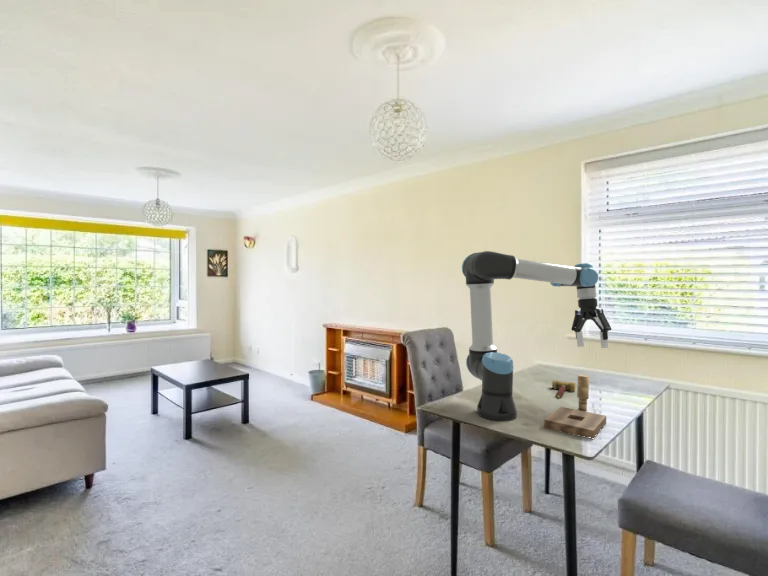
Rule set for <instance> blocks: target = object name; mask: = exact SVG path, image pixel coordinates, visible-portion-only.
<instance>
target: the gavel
mask: <svg viewBox="0 0 768 576" xmlns="http://www.w3.org/2000/svg"><path fill="white" fill-rule="evenodd" d="M551 388H554V389H553V390H557V392H556V397H557V399H561V397H562V398H563V396H564V394H565V391H567V390H568V392H571V391H573V392H574V393H575V392H576V382H572V381H570V382H568V381H559V380H557V379H556V380H555V379H552V383H551ZM573 392H572V393H573Z"/></svg>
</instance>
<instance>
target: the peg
mask: <svg viewBox="0 0 768 576" xmlns="http://www.w3.org/2000/svg"><path fill="white" fill-rule="evenodd" d="M576 386H577V388H576V389H577V392H576V393H577V397H576V398H577V399H578V410H580V411H585V412H588V411H587V410H588V409H587V407H588V406H587V405H588V400H589V398H590V397H589V395H590V394H589V393H590V376H589V375H585V374H578V375H577V385H576Z"/></svg>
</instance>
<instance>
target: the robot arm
mask: <svg viewBox="0 0 768 576" xmlns="http://www.w3.org/2000/svg"><path fill="white" fill-rule="evenodd" d="M461 270H462V271H461V272H462V274H463V276H464V277H465V285H466V286H467V287H468V288H469V297H470V317H471V320H470V321H471V323H470V324H471V339H472V340H471V342H472V343H471V345H470V346H469V347H468V354H467V356H466V359H465V360H466V361H465V364H466V368H467V370H468V371H469V373H470V374H471V375H472V376H473V377H474V378H476V379H479V380H480V381H481V395H480V398H479V400H478V403H477V405H476V414H477V415H479V417H482V418H484V419H487V420H491V421H500V422H501V421H513V420H515V419H517V417H518V415H517V414H518V411H517V408H516V404H515V401H514V397H513V389H514V388H513V386H514V382H513V381H514V360H513V358H512V357H511V356H510V355H507V354H505V353H500V352H498V347H497V346H496V345H495V344H494V339H493V336H494V335H493V334H494V333H493V316H492V315H493V314H492V312H493V311H492V292H491V291H492V289H491V288H492V287H493V286H494V285H495V280H508V281H509V280H512V279H514V278H515V279H521V280H528V281H529V280H530V281H535V282H536V281H537V282H538V281H539V282H546V283H549V284H550V285H551V286H552V287H560V288H561V287H576V294H577V299H578V300H577V306H578V308H579V309H576V310H574V318H573V321H572V326H571V331H572V332H573V331H574V332H575V338H576V343H577V344H576V345H577V348H579V347H584V336H583V335H584V333H583V331H582V330H583V327H584V325H585V323H586V322H587V321H589V320H591V321H593V322H594V324H595V326H597V328H598V329H599V330H600V332H599V336H600V337H599V339H600V347H601V348H602V349H603V348H604V349H606V348H609V344H608V340H609V334H608V332H609V331H612V327H611V325H610V323H609V321H608V319H607V317H606V315H605V312H604V309H603V308H597V307H598V299H597V298H596V297H597V290H596V287H597V286H596V284H598V283H597V282H598V280H599V273H598V272H597V270H596V269H595V268H594V264H592V263H590V262H585V263H577V264H575V265H574V266H571V265H563V264H556V263H549V262H543V261H535V260H527V259H521V258H516V255H511V254H505V253H500V252H497V251H491V250H484V251H479V252H473V253H471V254H468V256H466V257H465V259H464V260H463V261H462V263H461Z"/></svg>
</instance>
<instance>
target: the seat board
mask: <svg viewBox="0 0 768 576" xmlns="http://www.w3.org/2000/svg"><path fill="white" fill-rule="evenodd" d="M543 421H544V422H543V423H544V424H543V428H544V429H548V430H551V429H552V431H556V432H560V431H561V433H564V434H568V433H570V434H569V435H572V434H575V435H574V436H576V435H580V436H585V437H591V438H594V437H595V435H596V434H597V433H598V432H599V431H600V429H601V428H602V427H603V426H604V425H605V424H606V425H607V415H604V414H599V413H594V412H589V411H581V410H579V409H574V408H570V407H564V406H560V407H558V408H557V409H556V410H555V411H554V412H552V413H550V414H549V415H548V416H547V417H545V418H544V419H543ZM606 425H605V426H606ZM605 426H604V427H605ZM604 427H603V428H604ZM603 428H602V429H603ZM600 432H601V431H600ZM600 432H599V433H600ZM599 433H598V434H599ZM598 434H597V435H598ZM580 436H579V437H580ZM585 437H584V438H585ZM595 438H596V437H595ZM595 438H594V439H595Z"/></svg>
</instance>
